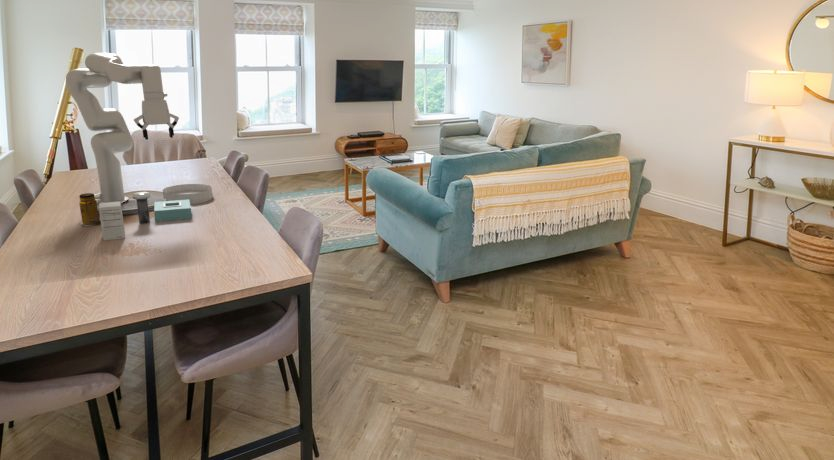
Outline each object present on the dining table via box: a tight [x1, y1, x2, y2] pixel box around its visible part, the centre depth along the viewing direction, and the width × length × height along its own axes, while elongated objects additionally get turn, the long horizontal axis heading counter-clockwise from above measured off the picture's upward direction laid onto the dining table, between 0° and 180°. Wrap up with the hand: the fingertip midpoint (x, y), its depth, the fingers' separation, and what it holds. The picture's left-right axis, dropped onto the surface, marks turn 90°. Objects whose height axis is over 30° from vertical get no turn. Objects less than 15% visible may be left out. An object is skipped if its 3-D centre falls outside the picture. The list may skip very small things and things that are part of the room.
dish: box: [162, 183, 214, 205], centre depth 278 cm, size 22×22×5 cm
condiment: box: [78, 192, 101, 227], centre depth 236 cm, size 7×8×12 cm
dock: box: [153, 199, 193, 222], centre depth 250 cm, size 14×16×5 cm
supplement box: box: [98, 202, 126, 241], centre depth 219 cm, size 7×7×13 cm
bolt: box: [131, 191, 151, 225], centre depth 238 cm, size 6×6×12 cm
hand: (159, 138), depth 246 cm, fingers open, 9 cm apart
